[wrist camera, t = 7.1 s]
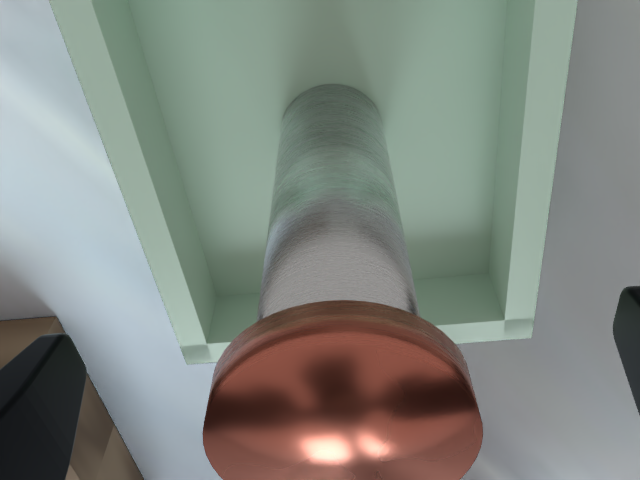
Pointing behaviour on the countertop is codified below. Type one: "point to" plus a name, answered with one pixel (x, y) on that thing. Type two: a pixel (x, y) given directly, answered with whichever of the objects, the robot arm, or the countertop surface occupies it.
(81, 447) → the block
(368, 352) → the lock pin
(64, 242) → the countertop surface
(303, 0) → the tray
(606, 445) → the countertop surface
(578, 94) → the countertop surface
